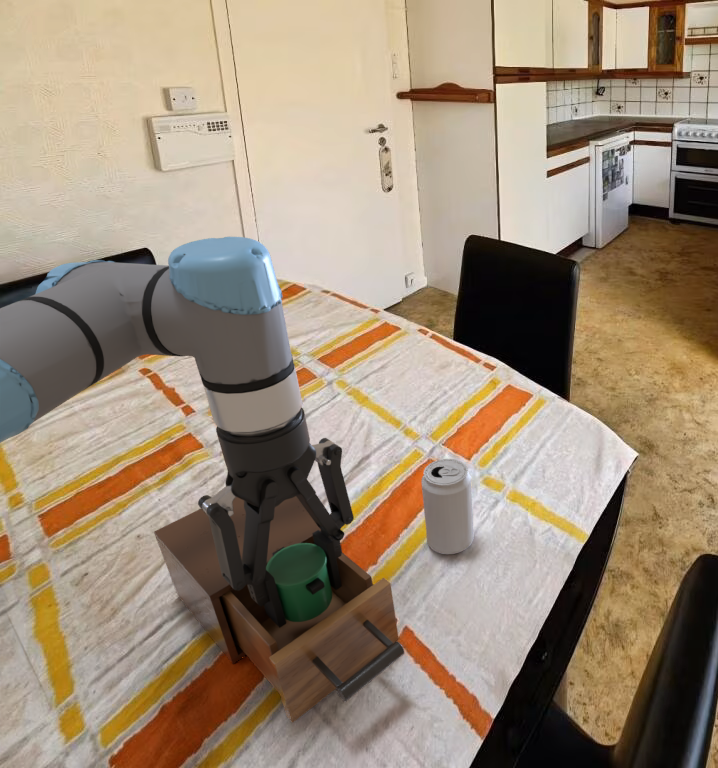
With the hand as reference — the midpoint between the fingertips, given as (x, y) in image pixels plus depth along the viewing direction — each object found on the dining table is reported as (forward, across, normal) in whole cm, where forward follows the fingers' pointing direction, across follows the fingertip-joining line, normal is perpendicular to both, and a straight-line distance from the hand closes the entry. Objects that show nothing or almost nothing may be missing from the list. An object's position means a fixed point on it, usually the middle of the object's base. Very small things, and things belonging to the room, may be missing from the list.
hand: (304, 599), depth 67 cm
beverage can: (+8, -22, -2) cm, 24 cm away
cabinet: (+8, 0, -12) cm, 15 cm away
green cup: (0, 0, 0) cm, 0 cm away
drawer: (+7, 0, +3) cm, 8 cm away
